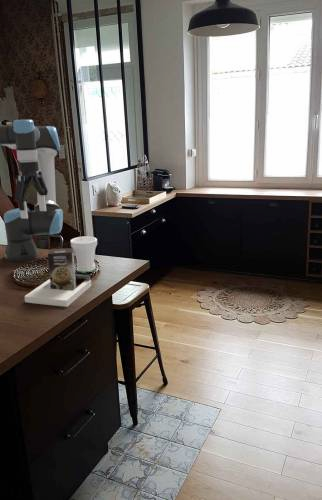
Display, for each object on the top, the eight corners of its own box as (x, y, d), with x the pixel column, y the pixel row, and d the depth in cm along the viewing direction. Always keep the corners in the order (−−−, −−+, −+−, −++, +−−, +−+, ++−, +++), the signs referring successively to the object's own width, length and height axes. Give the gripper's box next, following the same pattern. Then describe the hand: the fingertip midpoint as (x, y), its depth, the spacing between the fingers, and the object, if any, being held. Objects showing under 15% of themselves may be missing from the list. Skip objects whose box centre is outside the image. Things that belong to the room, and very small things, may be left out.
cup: (102, 267, 189) (100, 236, 184) (94, 276, 178) (92, 243, 174) (78, 266, 191) (75, 235, 186) (69, 275, 180) (66, 243, 176)
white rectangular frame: (53, 282, 173) (52, 276, 172) (91, 285, 168) (91, 280, 167) (25, 302, 155) (24, 296, 154) (67, 306, 150) (66, 300, 149)
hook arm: (54, 282, 173) (53, 272, 172) (90, 285, 168) (89, 275, 167) (52, 283, 172) (51, 273, 170) (89, 286, 167) (88, 276, 166)
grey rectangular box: (51, 294, 161) (46, 253, 156) (53, 287, 167) (49, 248, 162) (75, 292, 162) (71, 252, 157) (76, 286, 168) (73, 247, 163)
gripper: (36, 157, 178) (42, 207, 184) (-1, 164, 155) (7, 221, 161) (52, 157, 176) (57, 208, 182) (17, 164, 153) (24, 222, 159)
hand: (34, 214), depth 172 cm, fingers open, 13 cm apart
